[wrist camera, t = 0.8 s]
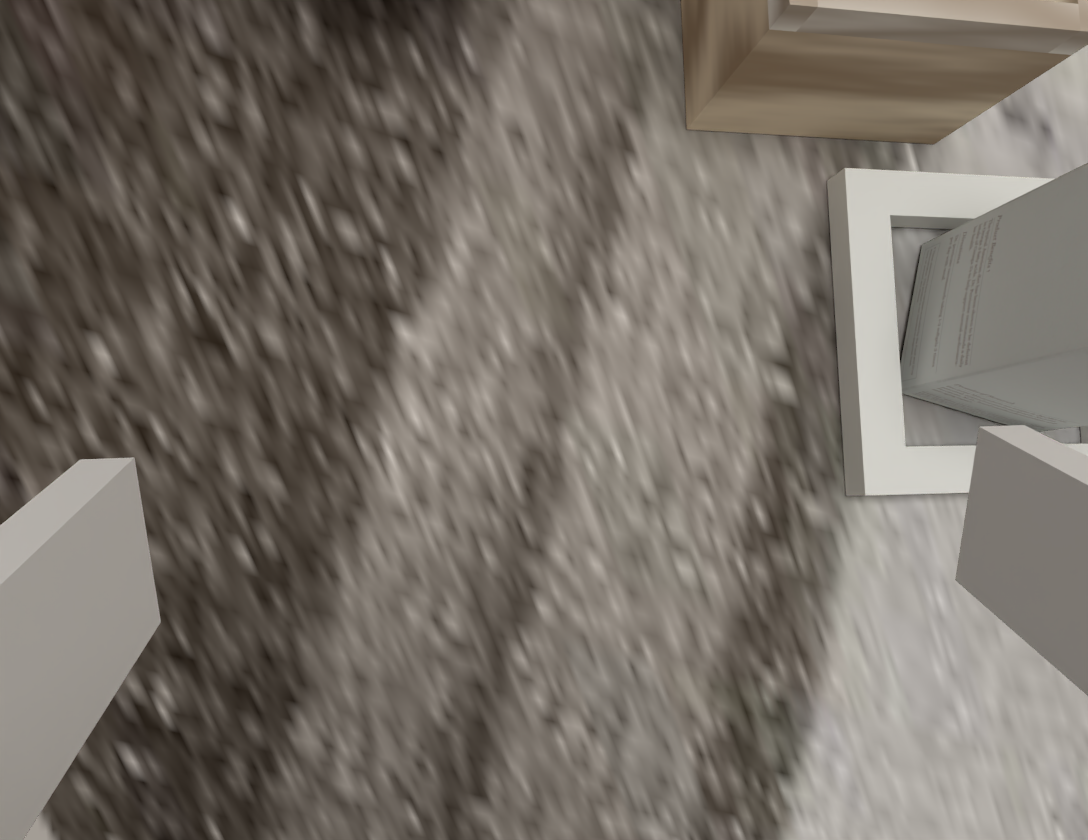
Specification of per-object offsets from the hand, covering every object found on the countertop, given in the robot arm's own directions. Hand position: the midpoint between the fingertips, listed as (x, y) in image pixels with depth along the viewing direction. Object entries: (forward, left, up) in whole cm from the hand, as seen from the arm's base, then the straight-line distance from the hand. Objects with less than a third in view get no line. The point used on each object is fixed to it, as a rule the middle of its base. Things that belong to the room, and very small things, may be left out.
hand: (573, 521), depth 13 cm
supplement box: (+7, -24, -21) cm, 33 cm away
